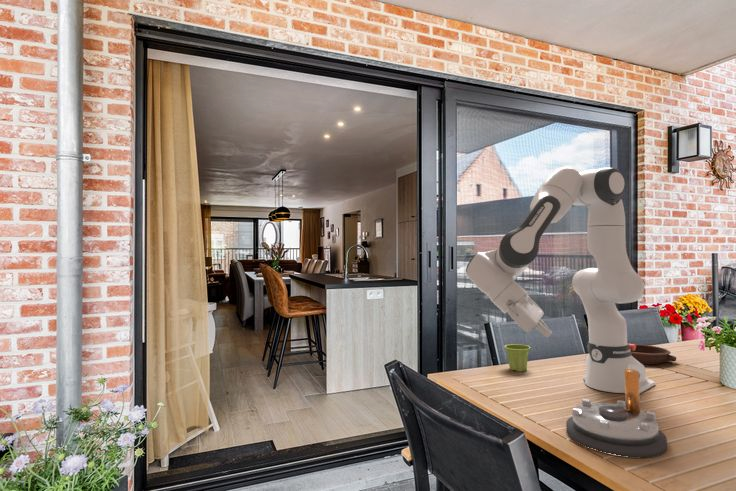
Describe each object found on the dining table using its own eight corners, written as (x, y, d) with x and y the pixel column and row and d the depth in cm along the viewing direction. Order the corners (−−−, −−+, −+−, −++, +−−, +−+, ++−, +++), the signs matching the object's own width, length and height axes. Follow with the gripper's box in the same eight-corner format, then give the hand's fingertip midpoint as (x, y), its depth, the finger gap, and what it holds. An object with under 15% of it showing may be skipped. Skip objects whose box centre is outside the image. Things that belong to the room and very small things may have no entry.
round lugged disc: (664, 425, 103) (662, 372, 103) (651, 453, 90) (648, 392, 90) (584, 408, 115) (582, 361, 115) (562, 430, 102) (560, 377, 102)
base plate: (601, 414, 116) (601, 407, 116) (686, 444, 97) (686, 436, 97) (548, 430, 107) (547, 423, 107) (630, 467, 88) (630, 458, 88)
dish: (677, 370, 155) (677, 356, 155) (609, 362, 167) (608, 350, 167) (675, 359, 169) (675, 346, 169) (612, 353, 182) (612, 341, 182)
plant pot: (501, 366, 166) (500, 344, 166) (524, 365, 166) (523, 343, 166) (511, 373, 156) (510, 350, 156) (535, 372, 157) (534, 348, 157)
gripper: (513, 295, 110) (555, 334, 105) (524, 287, 128) (561, 321, 123) (496, 311, 112) (537, 351, 107) (509, 302, 130) (545, 335, 125)
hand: (550, 335), depth 115 cm, fingers closed
